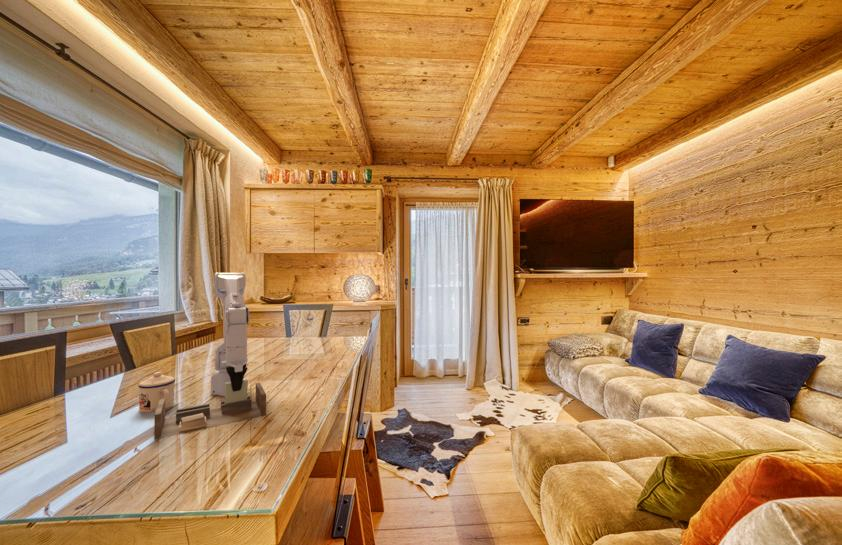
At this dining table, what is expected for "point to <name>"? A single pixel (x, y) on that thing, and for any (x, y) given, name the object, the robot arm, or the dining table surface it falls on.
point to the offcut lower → (192, 426)
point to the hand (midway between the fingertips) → (236, 389)
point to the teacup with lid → (156, 392)
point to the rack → (210, 414)
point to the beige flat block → (235, 392)
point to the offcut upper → (192, 419)
